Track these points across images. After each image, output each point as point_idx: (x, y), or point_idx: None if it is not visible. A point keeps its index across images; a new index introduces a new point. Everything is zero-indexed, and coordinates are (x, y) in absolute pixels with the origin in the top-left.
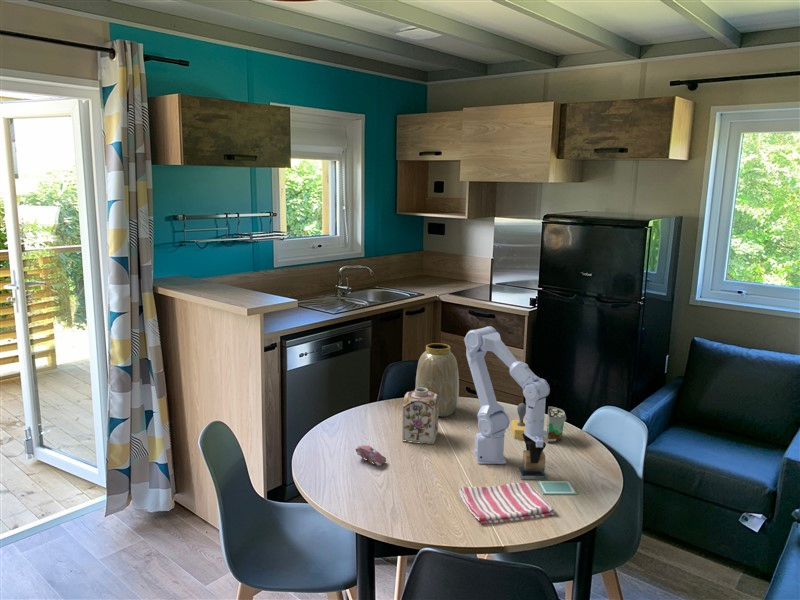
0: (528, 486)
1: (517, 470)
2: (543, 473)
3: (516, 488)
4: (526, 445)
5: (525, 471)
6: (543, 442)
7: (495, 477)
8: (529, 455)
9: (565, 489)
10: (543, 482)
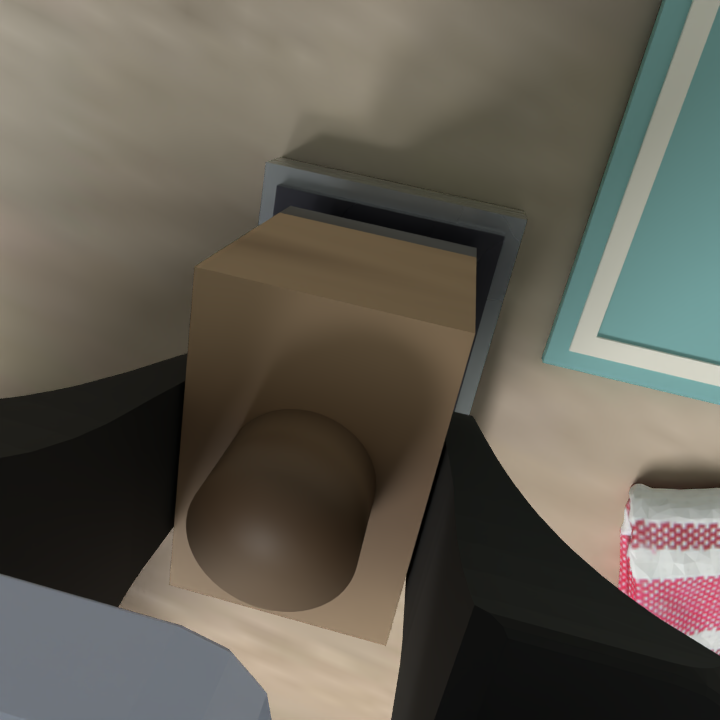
0: (717, 568)
1: None
2: None
3: None
4: (117, 601)
5: None
6: (528, 690)
7: (347, 658)
8: (394, 600)
9: None
10: (605, 306)
